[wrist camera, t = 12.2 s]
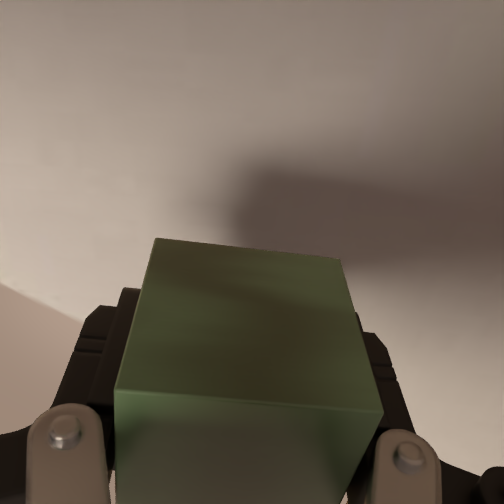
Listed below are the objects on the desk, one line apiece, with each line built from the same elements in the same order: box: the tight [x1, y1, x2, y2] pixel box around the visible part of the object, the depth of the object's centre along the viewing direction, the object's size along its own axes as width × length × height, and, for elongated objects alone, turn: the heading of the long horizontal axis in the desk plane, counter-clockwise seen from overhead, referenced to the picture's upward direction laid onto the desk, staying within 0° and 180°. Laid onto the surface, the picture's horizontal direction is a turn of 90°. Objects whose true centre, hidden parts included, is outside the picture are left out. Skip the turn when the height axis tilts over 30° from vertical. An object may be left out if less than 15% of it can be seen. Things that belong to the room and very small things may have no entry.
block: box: [114, 238, 384, 504], centre depth 11 cm, size 5×5×5 cm
